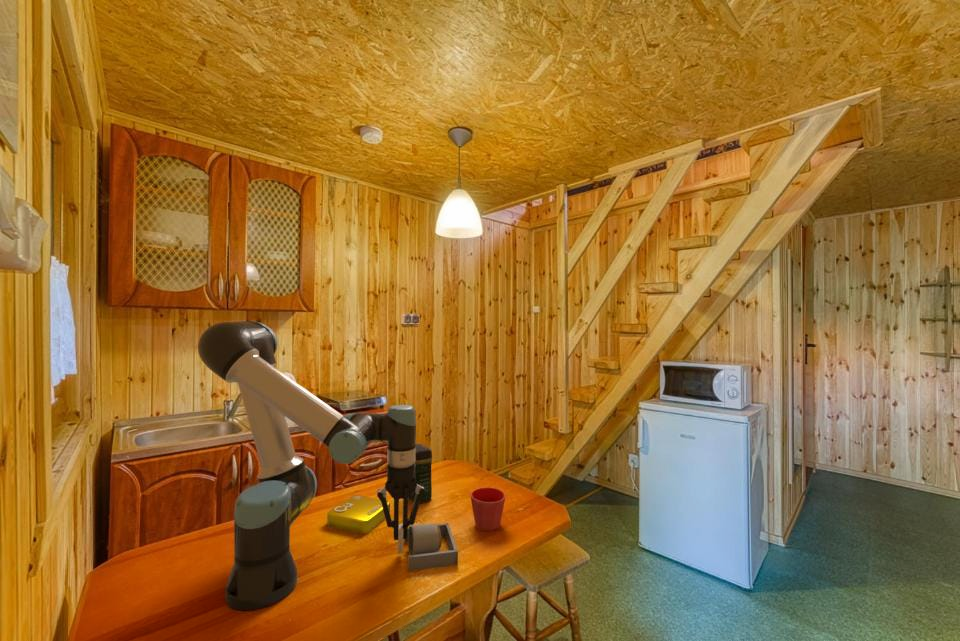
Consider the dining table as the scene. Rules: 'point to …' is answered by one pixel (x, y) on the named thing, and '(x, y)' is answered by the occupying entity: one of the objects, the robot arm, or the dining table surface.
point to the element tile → (357, 514)
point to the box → (438, 557)
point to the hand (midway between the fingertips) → (400, 550)
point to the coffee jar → (423, 471)
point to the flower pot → (487, 507)
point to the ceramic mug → (424, 539)
